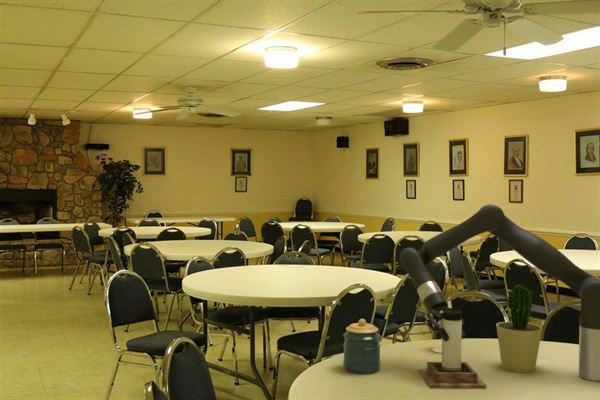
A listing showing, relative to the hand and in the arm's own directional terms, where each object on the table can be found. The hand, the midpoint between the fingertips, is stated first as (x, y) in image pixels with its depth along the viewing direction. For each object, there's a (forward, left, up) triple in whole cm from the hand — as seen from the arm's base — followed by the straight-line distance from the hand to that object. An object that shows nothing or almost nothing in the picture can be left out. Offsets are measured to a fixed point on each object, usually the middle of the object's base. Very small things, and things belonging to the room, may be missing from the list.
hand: (455, 338), depth 209 cm
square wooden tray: (+2, 0, -14) cm, 14 cm away
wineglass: (+25, -29, -14) cm, 41 cm away
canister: (+30, +13, -14) cm, 35 cm away
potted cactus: (-6, -30, -14) cm, 34 cm away
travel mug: (+2, -1, -11) cm, 11 cm away
